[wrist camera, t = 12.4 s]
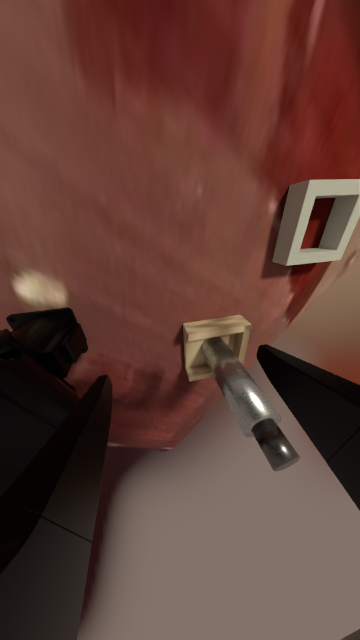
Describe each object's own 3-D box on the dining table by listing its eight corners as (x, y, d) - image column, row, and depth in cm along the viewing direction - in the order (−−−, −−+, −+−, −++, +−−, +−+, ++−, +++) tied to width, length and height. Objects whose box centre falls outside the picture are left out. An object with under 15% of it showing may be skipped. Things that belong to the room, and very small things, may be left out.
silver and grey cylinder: (195, 353, 26) (254, 477, 13) (209, 333, 24) (290, 451, 12) (215, 358, 27) (283, 473, 15) (229, 340, 26) (317, 450, 14)
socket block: (272, 261, 22) (286, 265, 20) (289, 185, 18) (310, 179, 16) (322, 256, 23) (340, 259, 21) (349, 184, 19) (375, 179, 17)
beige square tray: (184, 367, 28) (189, 381, 26) (182, 323, 24) (188, 335, 21) (233, 357, 30) (241, 370, 27) (240, 314, 25) (251, 324, 23)
